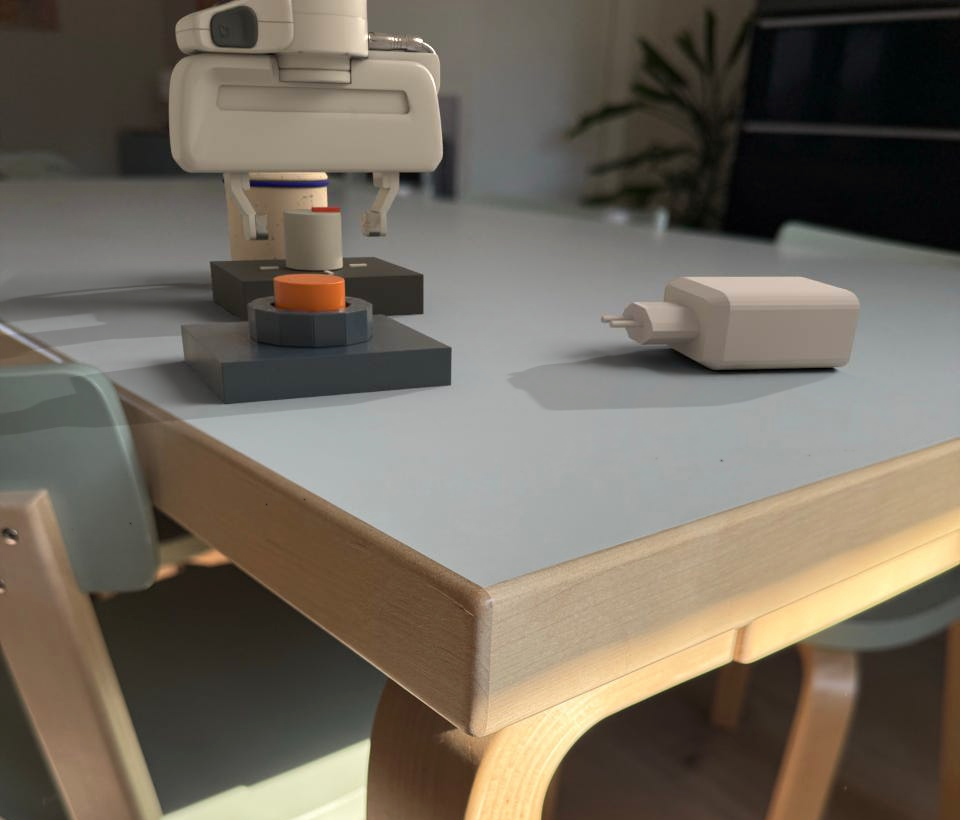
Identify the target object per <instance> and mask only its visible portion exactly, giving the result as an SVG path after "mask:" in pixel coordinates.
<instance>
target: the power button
mask: <svg viewBox="0 0 960 820" xmlns="http://www.w3.org/2000/svg"><path fill="white" fill-rule="evenodd" d="M273 281H274V296H275V308H281V309H288V310H304V311H318V310H334V309H340V308H345V280H344V278H342V277H338V276H333V275H324V274H290V275H282V276H278V277H275V278H274V280H273Z"/></svg>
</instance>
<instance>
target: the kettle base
mask: <svg viewBox="0 0 960 820" xmlns="http://www.w3.org/2000/svg"><path fill="white" fill-rule="evenodd" d="M342 260H343V267H342V268H340V269H336V270H326V271H307V270H295V269H290V268H287V267H286V259H277V260H241V261H232V260H211V261H209V268H210V278H211V279H210V280H211V288H212V290H211V291H212V299H213V301H214V302H216V304H219V305H220V306H221V307H222V308H224V309H225V310H227V311H228V312H229V313H231V314H232V315H234V316H235V317H236V318H237V319H239V320H241V322H246V321H248V309H247V304H248V303H250V302H252V301H254V300H255V299H258V298H264V297H270V296H274V281H273V280H274V278H275V277H278V276H282V275H290V274H324V275H333V276H338V277H342V278H344V280H345V296H347V297H353V298H360V299H363V300H365V301H367V302H369V303H371V304H372V315H381V314H383V315H385V316H387V317H397V316H414V315H416V316H417V315H424V309H425V307H424V306H425V305H424V300H425V299H424V295H425V294H424V292H425V291H424V290H425V289H424V287H425V286H424V285H425V284H424V283H425V282H424V281H425V280H424V277H425V275H424V274H423V273H421V272H418V271H415V270H412V269H409V268H406V267H404V266H401V265H398V264H395V263H392V262H389V261H387V260H384V259H381V258H378V257H376V256H357V257H355V256H354V257H353V256H352V257H342Z"/></svg>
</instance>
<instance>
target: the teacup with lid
mask: <svg viewBox="0 0 960 820" xmlns="http://www.w3.org/2000/svg"><path fill="white" fill-rule="evenodd" d="M328 177H329V176H328V174H327V172H301V173H249V181H250V189H249V190H243V189H242V191H243V193H244V194H245V196H246V198H247V199H248V201H249V203H250V204H251V206H252V208H253V209H254V211H255V213H262V214H265V215H267V219H268V225H267V227H266V228H267V230H268V232H269V238H268V240H247V239H246V238H245V235H244V227H243V216H242V213H240V211H239V210H238V208H237V207H236V205H235V204H234V202H233V200H232V199H231V197H230V196H229V194H228V192H227V191H226V190H225V197H226V198H225V199H226V209H227V221H228V223H227V224H228V233H229V234H228V235H229V246H230V247H229V248H230V257H231V261H241V260H277V259H286V257H285V241H284V224H283V211H285V210H295V209H311V207H328V187H327V186H329V185H330V181H329V180H328ZM221 182H222V183H223V184H224V185H225V183H224V173H222V179H221Z"/></svg>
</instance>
